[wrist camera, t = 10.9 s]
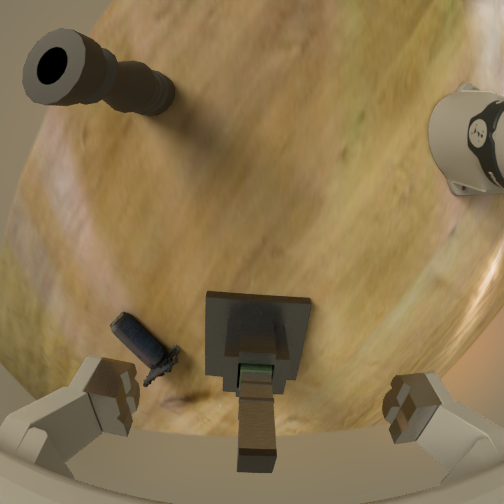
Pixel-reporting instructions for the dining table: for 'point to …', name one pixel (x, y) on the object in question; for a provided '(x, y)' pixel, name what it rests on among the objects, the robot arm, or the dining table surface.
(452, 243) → the dining table surface
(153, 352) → the dark flanged cylinder
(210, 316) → the stand
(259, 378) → the column
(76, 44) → the candle holder
